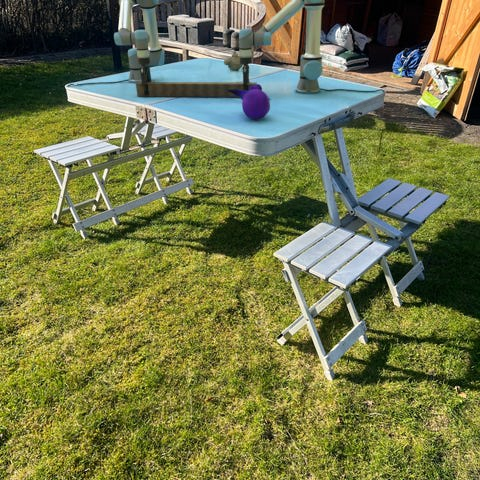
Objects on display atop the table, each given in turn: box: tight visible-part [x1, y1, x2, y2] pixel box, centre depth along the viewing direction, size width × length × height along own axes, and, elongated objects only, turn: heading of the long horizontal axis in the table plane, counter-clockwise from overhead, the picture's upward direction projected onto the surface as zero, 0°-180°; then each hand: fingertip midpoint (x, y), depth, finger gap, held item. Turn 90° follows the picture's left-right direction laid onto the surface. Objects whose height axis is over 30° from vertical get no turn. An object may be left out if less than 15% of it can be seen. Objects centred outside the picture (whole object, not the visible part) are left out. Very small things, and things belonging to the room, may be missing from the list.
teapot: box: [223, 50, 244, 72], centre depth 366 cm, size 21×12×15 cm, turn 120°
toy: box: [228, 83, 271, 121], centre depth 243 cm, size 16×18×27 cm
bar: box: [135, 81, 258, 98], centre depth 290 cm, size 78×6×8 cm, turn 83°
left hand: (148, 94), depth 296 cm, fingers closed on bar, 6 cm apart
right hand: (246, 95), depth 288 cm, fingers closed on bar, 6 cm apart
